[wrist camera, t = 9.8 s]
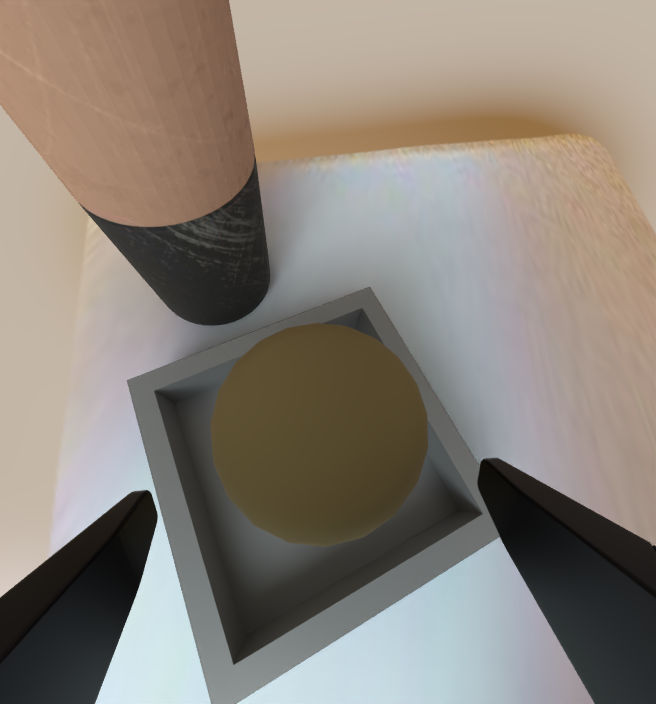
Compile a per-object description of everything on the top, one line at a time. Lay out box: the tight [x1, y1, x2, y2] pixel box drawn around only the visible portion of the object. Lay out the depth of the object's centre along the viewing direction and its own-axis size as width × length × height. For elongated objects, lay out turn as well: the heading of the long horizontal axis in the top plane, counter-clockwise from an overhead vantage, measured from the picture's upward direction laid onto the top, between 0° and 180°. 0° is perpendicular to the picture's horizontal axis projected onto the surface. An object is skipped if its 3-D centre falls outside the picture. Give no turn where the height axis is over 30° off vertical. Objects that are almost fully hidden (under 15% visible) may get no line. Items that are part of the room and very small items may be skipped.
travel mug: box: [0, 0, 270, 325], centre depth 12 cm, size 8×8×20 cm
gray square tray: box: [127, 287, 500, 704], centre depth 16 cm, size 13×13×4 cm
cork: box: [210, 323, 428, 547], centre depth 12 cm, size 6×6×11 cm
